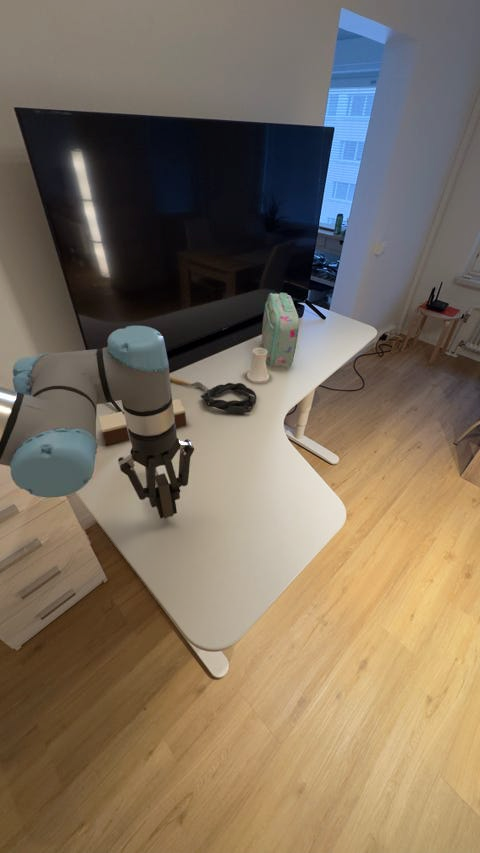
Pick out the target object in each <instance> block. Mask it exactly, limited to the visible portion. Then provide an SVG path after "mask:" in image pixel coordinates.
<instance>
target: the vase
mask: <svg viewBox="0 0 480 853" xmlns="http://www.w3.org/2000/svg"><path fill="white" fill-rule="evenodd" d="M266 356H267V350H266V349H264V348H263V347H256V348H254V349H252V363H251V366H250V369H249V371H248V372H247V374H246V377H247V380H248V381H249V382H251V383H254V384H265V383H267V382H268V381H269V380H270V374H269V372H268V370H267V361H266Z"/></svg>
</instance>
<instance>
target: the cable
mask: <svg viewBox="0 0 480 853" xmlns="http://www.w3.org/2000/svg"><path fill="white" fill-rule="evenodd" d="M228 391H233V392H234V393H236V394H238V395H240V396H244V397H247V398H246V399H242V400H236V399H234V400H232V399H231V400H228V401H227V400H225V399H219V398H218V399H217V398H216V397H219V396H221V395H222V394H223V393H225V392H228ZM256 394H257V393H255V391H254V390H253V389H252V388H249V387H247V386H246V385H245V384H244V383H242V382H237V383H233V382H226V383H225V384H218V385H215V386H213V387H212V388H209V389H208V390H207V391H206V392H204V393H203V394H201V395H200V398H201V399H202V400H203V401H204V404H205V406H207V407H208V408H214V409H217V410H221V411H225V412H226V413H229V414H230V413H231V414H240V415H241V414H246V413H251V411H253V409H254V407H255V405H256V402H257V395H256ZM213 398H216V399H213Z"/></svg>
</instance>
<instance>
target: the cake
mask: <svg viewBox="0 0 480 853" xmlns="http://www.w3.org/2000/svg"><path fill="white" fill-rule="evenodd" d="M123 413H124V412H123V411H118V412H113V413H109V414H104V415H100V416H98V421H99V425H100V429H101V433H102V435H103V439H104V443H105V446H106V447H108V446H112V445H116V444H120V443H124V442H128V441H131V440H130V435H129V431H128V426H127V423H126V418H125V415H124V414H123Z"/></svg>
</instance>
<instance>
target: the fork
mask: <svg viewBox="0 0 480 853" xmlns="http://www.w3.org/2000/svg"><path fill="white" fill-rule="evenodd" d="M170 382H172V383H176V384H181V385H184V386H189V387H193V388H194V387H195V388H199V389H202V390H204V392H207V390H209V389H208V388H207V387H206V385H204V384H203V383H202V382H199V381H195V382H193V383H190V382H187V381H184V380H181V379H178V378H175V377H171V376H170Z"/></svg>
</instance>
